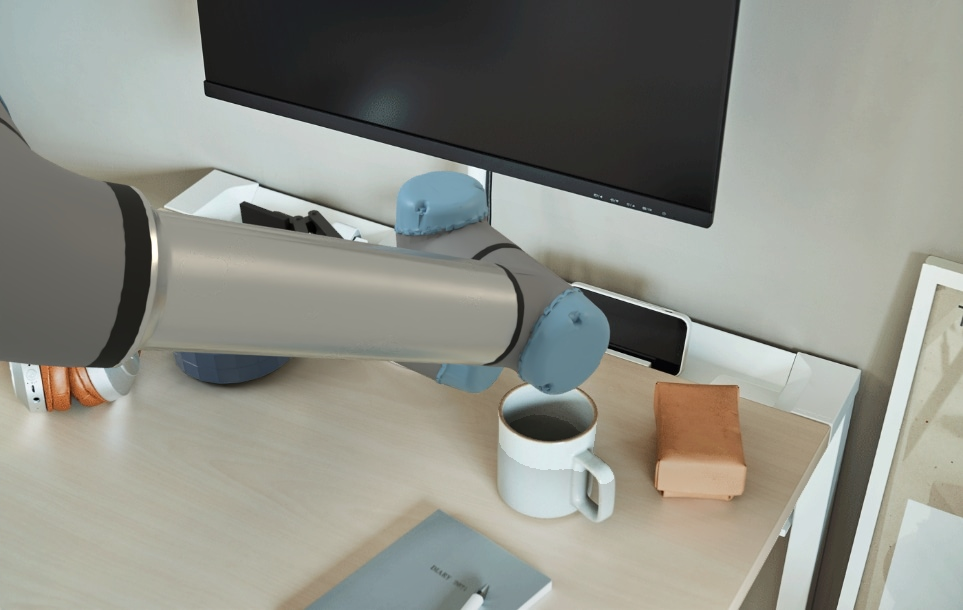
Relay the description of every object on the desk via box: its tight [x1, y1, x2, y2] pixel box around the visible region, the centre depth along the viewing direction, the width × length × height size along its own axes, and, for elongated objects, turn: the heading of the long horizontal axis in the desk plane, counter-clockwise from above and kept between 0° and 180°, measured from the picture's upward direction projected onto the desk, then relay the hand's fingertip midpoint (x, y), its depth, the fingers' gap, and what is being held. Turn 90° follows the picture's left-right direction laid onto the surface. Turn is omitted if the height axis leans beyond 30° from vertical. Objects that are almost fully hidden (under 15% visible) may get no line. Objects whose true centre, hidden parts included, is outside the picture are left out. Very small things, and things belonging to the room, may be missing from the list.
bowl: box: [172, 351, 293, 385], centre depth 102 cm, size 14×14×4 cm
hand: (197, 239), depth 97 cm, fingers open, 13 cm apart
